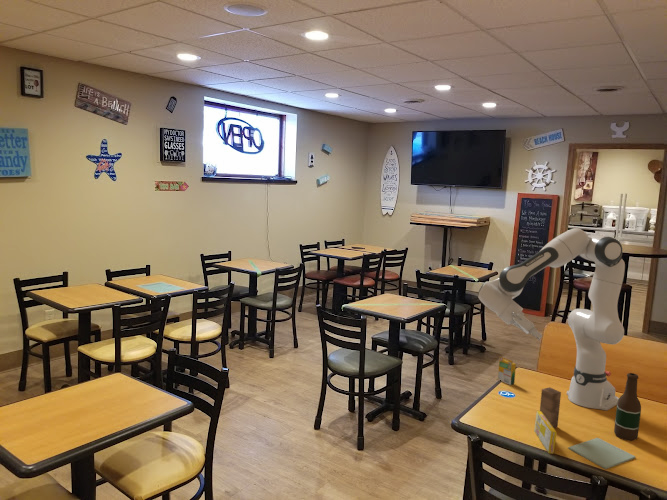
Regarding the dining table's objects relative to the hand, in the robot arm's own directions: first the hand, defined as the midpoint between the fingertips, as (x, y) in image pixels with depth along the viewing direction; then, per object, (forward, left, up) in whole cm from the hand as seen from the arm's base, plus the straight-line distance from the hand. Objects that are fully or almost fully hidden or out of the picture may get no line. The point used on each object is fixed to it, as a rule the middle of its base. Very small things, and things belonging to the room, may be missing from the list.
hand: (541, 338), depth 198 cm
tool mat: (+1, +30, -32) cm, 44 cm away
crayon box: (-17, -30, -32) cm, 47 cm away
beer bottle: (-19, +26, -32) cm, 45 cm away
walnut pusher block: (+1, +8, -32) cm, 33 cm away
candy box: (+13, +16, -33) cm, 39 cm away
